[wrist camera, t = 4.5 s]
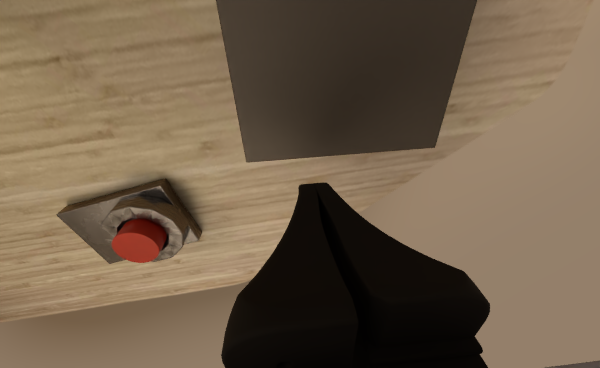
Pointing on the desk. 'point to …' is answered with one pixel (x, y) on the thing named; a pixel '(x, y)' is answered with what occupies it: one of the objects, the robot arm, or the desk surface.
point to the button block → (132, 205)
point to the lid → (341, 73)
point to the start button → (139, 240)
